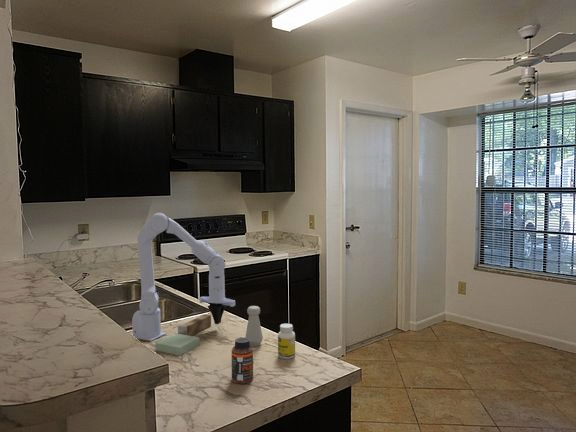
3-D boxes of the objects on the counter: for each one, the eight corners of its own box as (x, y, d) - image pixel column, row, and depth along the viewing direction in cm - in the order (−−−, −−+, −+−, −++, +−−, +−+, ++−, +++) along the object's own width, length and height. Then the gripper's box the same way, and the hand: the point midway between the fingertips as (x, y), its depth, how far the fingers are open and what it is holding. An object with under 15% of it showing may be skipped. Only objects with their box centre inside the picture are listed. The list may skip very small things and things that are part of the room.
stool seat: (155, 350, 142) (155, 342, 141) (175, 340, 151) (175, 333, 150) (180, 355, 137) (179, 347, 137) (199, 344, 146) (199, 337, 146)
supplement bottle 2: (274, 356, 136) (274, 325, 135) (286, 351, 140) (286, 321, 139) (287, 360, 132) (286, 329, 132) (298, 355, 136) (298, 325, 136)
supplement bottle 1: (244, 386, 116) (243, 345, 115) (227, 381, 119) (226, 341, 118) (257, 378, 121) (257, 338, 120) (240, 373, 124) (240, 334, 123)
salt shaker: (260, 348, 142) (259, 309, 141) (243, 347, 144) (242, 308, 143) (264, 342, 148) (264, 304, 147) (248, 341, 149) (248, 304, 148)
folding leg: (183, 339, 150) (183, 328, 150) (176, 338, 152) (175, 326, 151) (211, 325, 165) (211, 314, 165) (204, 324, 167) (204, 313, 166)
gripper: (239, 286, 160) (240, 322, 161) (207, 283, 167) (207, 317, 168) (229, 291, 154) (229, 328, 155) (195, 287, 160) (196, 323, 161)
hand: (217, 323), depth 161 cm, fingers closed
